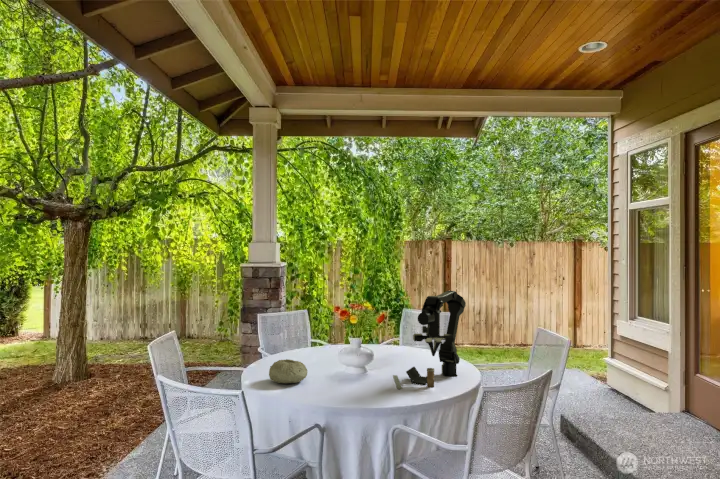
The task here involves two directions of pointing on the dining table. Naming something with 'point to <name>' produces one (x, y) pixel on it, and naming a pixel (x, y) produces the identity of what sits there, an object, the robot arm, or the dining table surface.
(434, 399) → the dining table surface
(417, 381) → the handheld gaming console
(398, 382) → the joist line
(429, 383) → the tapered tan cylinder
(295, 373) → the olive green stone
